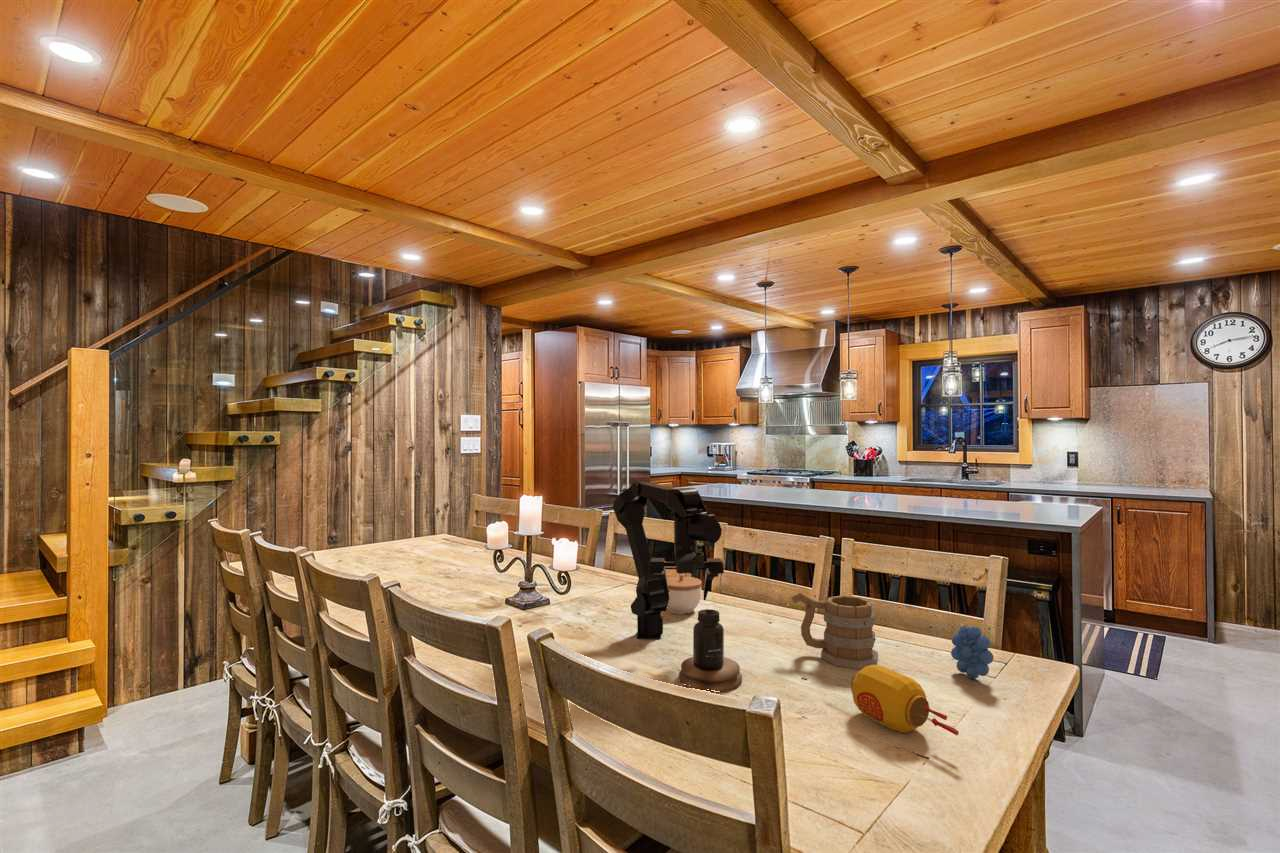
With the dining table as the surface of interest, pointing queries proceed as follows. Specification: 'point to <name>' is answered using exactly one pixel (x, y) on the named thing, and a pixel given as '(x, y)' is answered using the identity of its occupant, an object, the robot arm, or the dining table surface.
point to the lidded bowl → (683, 594)
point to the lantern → (892, 699)
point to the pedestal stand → (711, 676)
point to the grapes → (971, 651)
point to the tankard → (842, 630)
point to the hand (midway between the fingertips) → (686, 599)
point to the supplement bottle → (708, 641)
